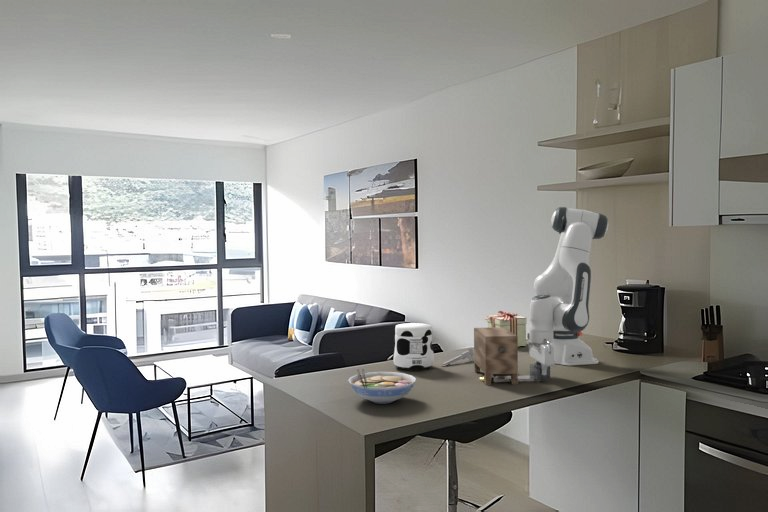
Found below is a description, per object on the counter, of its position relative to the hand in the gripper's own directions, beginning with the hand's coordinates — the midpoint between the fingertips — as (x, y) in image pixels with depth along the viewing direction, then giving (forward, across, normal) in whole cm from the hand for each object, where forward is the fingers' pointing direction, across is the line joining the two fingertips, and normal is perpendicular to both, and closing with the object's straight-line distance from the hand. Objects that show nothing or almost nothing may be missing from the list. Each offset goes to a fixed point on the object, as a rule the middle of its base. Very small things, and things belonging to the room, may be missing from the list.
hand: (541, 373), depth 223 cm
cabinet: (+2, +4, +17) cm, 18 cm away
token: (+2, 0, +22) cm, 22 cm away
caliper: (+3, +32, +27) cm, 42 cm away
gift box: (+2, +72, -4) cm, 72 cm away
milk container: (+2, +24, +47) cm, 53 cm away
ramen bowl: (+2, -26, +62) cm, 67 cm away
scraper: (+2, 0, +8) cm, 9 cm away
